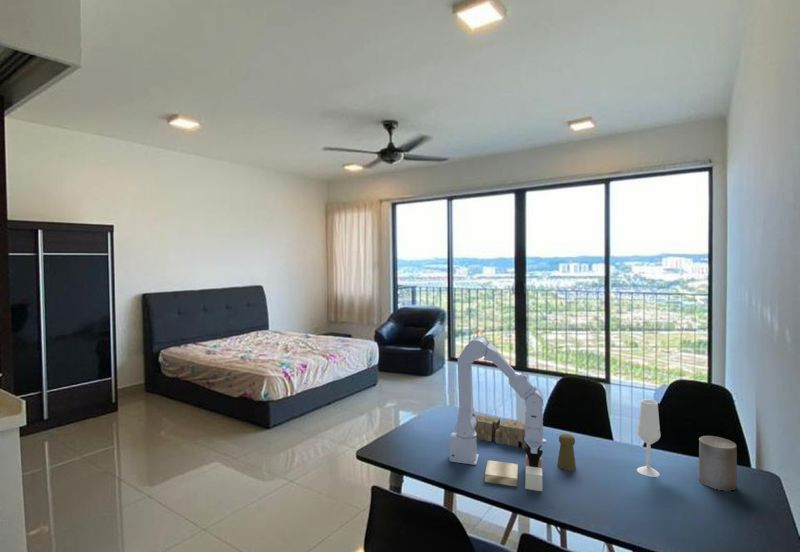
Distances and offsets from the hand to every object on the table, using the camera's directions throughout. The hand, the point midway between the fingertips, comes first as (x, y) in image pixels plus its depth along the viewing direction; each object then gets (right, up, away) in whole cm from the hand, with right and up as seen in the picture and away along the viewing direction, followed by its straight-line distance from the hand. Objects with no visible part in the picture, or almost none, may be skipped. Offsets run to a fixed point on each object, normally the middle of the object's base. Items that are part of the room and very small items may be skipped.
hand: (533, 465), depth 144 cm
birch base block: (-12, -2, -5) cm, 13 cm away
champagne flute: (+38, -2, -1) cm, 38 cm away
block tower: (-6, -1, +25) cm, 26 cm away
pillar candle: (+56, -2, -9) cm, 57 cm away
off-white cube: (-3, -2, -10) cm, 11 cm away
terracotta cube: (0, -1, 0) cm, 1 cm away
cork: (+12, -2, +3) cm, 13 cm away
